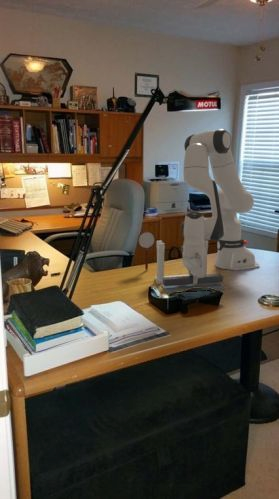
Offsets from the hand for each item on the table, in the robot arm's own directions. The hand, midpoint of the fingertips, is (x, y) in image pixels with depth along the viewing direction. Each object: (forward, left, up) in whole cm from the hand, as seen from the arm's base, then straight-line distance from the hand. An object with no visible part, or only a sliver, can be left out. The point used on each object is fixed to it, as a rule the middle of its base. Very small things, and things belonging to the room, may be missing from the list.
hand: (193, 281), depth 175 cm
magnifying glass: (+15, -29, -3) cm, 33 cm away
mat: (0, 0, -3) cm, 3 cm away
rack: (+2, -11, -3) cm, 11 cm away
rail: (0, 0, -1) cm, 1 cm away
